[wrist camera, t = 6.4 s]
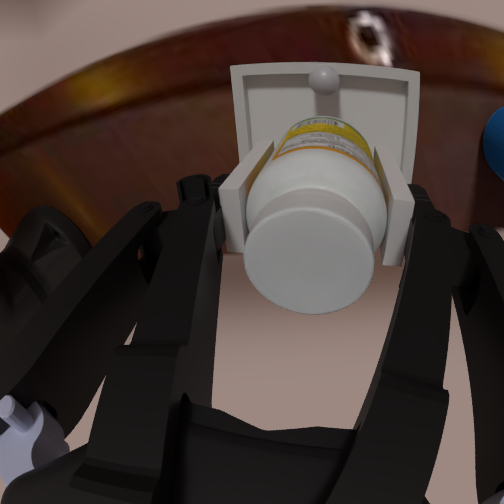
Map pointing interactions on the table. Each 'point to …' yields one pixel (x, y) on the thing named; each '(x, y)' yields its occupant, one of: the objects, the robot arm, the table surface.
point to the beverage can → (495, 143)
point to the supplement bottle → (315, 218)
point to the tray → (328, 103)
